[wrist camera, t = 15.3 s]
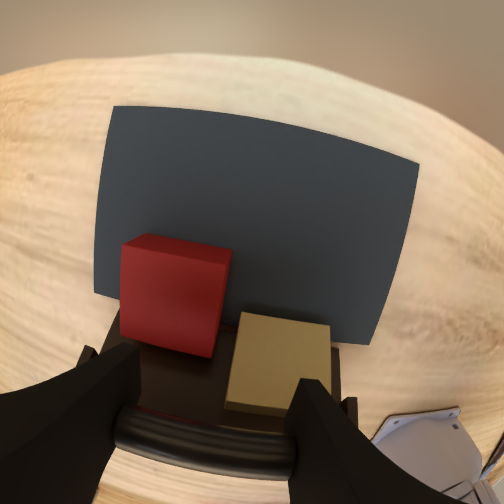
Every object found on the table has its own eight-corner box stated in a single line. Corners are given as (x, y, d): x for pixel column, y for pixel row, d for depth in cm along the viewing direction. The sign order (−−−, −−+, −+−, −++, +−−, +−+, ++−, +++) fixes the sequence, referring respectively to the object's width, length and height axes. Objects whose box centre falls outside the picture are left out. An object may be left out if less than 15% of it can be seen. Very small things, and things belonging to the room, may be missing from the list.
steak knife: (526, 414, 19) (530, 421, 18) (479, 485, 27) (481, 491, 25) (505, 427, 21) (509, 435, 19) (462, 493, 28) (464, 499, 26)
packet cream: (318, 341, 16) (330, 325, 15) (316, 419, 13) (331, 411, 11) (237, 328, 16) (241, 311, 15) (223, 409, 13) (226, 400, 11)
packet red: (218, 330, 16) (232, 249, 15) (211, 359, 13) (226, 265, 12) (139, 312, 16) (145, 232, 15) (120, 335, 13) (121, 243, 12)
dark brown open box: (336, 351, 17) (393, 277, 12) (336, 481, 10) (425, 465, 6) (121, 310, 16) (94, 220, 11) (74, 430, 10) (-3, 382, 5)
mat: (418, 164, 14) (419, 164, 14) (368, 343, 16) (369, 345, 16) (115, 106, 13) (113, 106, 13) (95, 291, 16) (93, 292, 16)
